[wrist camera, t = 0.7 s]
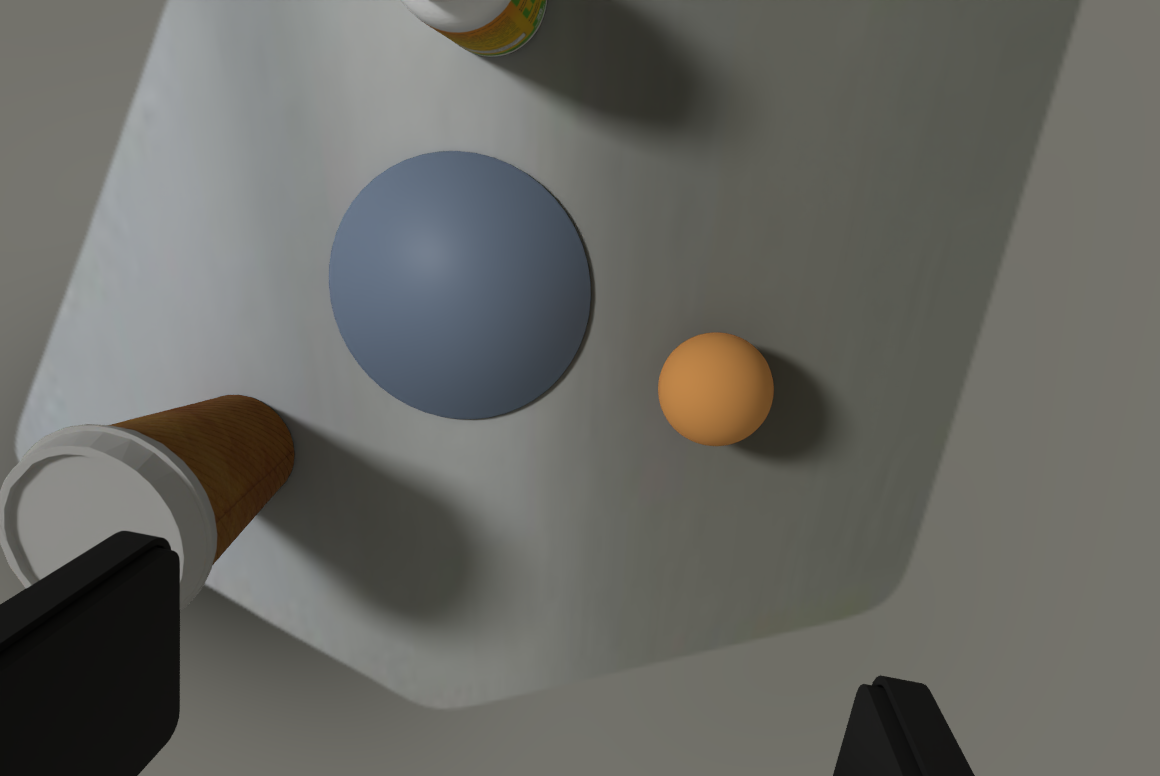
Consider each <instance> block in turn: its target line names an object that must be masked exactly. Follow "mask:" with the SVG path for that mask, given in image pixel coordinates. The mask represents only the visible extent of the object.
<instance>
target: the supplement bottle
mask: <svg viewBox="0 0 1160 776" xmlns="http://www.w3.org/2000/svg"><path fill="white" fill-rule="evenodd" d="M401 1H402V2H403V3H404V5H405V6H406V7H407V8H408V9H409V10H410V11H411V12H412V13H413V14H414V15H415V16H416V17H417V18H418V19H420V20H421V21H422V22H424V23H425V24H427V25H428V26H430V27H431V28H433V29H435V30H436V31H438V32H439V33H441V34H442V35H444V36H446V37H447V38H449V39H450V40H452V41H453V42H455V43H456V44H458V45H459V46H460V47H462V48H464V49H465V50H467V51H469V52H472V53H474V54H477V55H481V56H489V57H495V56H503V55H507V54H509V53H512V52H514V51H516V50H518V49H519V48H521V47H522V46H524V45H525V44H526V43H527V42H528V41H529V40H530V39H531V38H532V37H533V36H534V34H535V33H536V32H537V30H538V28H539V27H540V25H541V23H542V20H543V17H544V14H545V10H546V5H547V0H401Z"/></svg>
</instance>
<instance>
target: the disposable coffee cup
mask: <svg viewBox="0 0 1160 776" xmlns="http://www.w3.org/2000/svg"><path fill="white" fill-rule="evenodd" d="M294 455H295V454H294V447H293V441H292V438H291V434H290V432H289V430H288V428H287V426H286V425H285V423H284V422H283V420H282V419H281V418H280V417H279V415H278V414H277V413H276V412H274V411H273V410H272V409H271V408H270V407H268V406H267V405H265V404H264V403H262V402H260V401H259V400H256V399H254V398H252V397H247V396H242V395H226V396H221V397H218V398H214V399H210V400H206V401H202V402H198V403H195V404H190V405H187V406H183V407H179V408H174V409H171V410H166V411H163V412H159V413H155V414H151V415H147V416H143V417H139V418H135V419H131V420H127V421H124V422H119V423H116V424H112V425H92V424H86V425H78V426H71V427H67V428H63V429H61V430H58V431H56V432H54V433H51V434H49V435H47V436H45V437H43V438H42V439H41V440H39V441H38V442H37V443H35V444H34V445H33V446H32V447H31V448H30V449H29V450H28V452H27V453H26V454H25V455H24V456H23V458H22V460H21V461H20V462H19V463H18V464H17V465H16V466H15V467H14V468H13V469H12V470H11V472H10V473H9V475H8V476H7V478H6V479H5V481H4V483H3V485H2V488H1V490H0V544H1V546H2V549H3V551H4V554H5V556H6V558H7V561H8V563H9V566H10V567H11V569H12V570H13V572H14V573H15V574H16V576H17V577H18V578H19V580H20V581H21V583H22V584H23V585H24V587H25V588H28V587H30V586H31V585H33V584H34V583H36V582H38V581H39V580H41V579H42V578H44V577H46V576H47V575H49V574H50V573H52V572H54V571H55V570H57V569H59V568H60V567H62V566H63V565H65V564H67V563H68V562H70V561H71V560H73V559H75V558H76V557H78V556H79V555H81V554H83V553H84V552H86V551H88V550H89V549H91V548H92V547H94V546H96V545H97V544H99V543H100V542H102V541H104V540H105V539H107V538H108V537H110V536H112V535H113V534H115V533H117V532H120V531H131V532H136V533H141V534H147V535H152V536H157V537H162V538H165V539H166V540H167V541H168V542H169V544H170V546H171V550H173V551H175V552H177V554H178V556H179V560H180V610H181V609H183V608H184V607H186V606H187V605H188V604H189V603H190V602H191V601H192V600H193V599H194V597H195V596H196V595H197V594H198V593H199V592H200V590H201V589H202V588H203V585H204V583H205V581H206V579H207V577H208V575H209V573H210V571H211V568H212V565H213V564H214V563H215V562H216V561H217V559H218V558H219V557H220V556H221V555H222V554H223V553H224V551H225V550H226V549H227V548H228V547H229V546H230V545H231V543H232V542H233V541H234V540H235V539H236V538H237V537H238V535H239V534H240V533H241V532H242V531H243V530H244V528H245V527H246V526H247V525H248V524H249V523H250V522H251V521H252V519H253V518H254V517H255V516H256V515H257V514H258V512H259V511H260V510H261V509H262V508H263V507H264V505H265V504H266V503H267V502H268V501H269V500H270V498H272V496H273V495H274V494H275V493H276V492H277V491H278V490H279V488H280V487H281V486H282V485H283V484H284V483H285V482H286V481H287V479H288V477H289V475H290V473H291V471H292V468H293V465H294Z"/></svg>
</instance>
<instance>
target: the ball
mask: <svg viewBox="0 0 1160 776" xmlns="http://www.w3.org/2000/svg"><path fill="white" fill-rule="evenodd" d="M658 394H659V401H660V405H661V408H662V410H663V413H664V415H665V417H666V418H667V420H668V421H669V423H670V424H671V425H672V426H673V428H674V429H675V430H676V431H677V432H678V433H680V434H681V435H683V436H684V437H686V438H687V439H689V440H691V441H694V442H696V443H699V444H703V445H709V446H724V445H729V444H733V443H736V442H739V441H741V440H743V439H745V438H746V437H748V436H749V435H751V434H752V433H753V432H755V431H756V430H757V429H758V428H759V427H760V425H761V424H762V423H763V422H764V420H765V419H766V417H767V415H768V413H769V411H770V408H771V405H772V401H773V395H774V385H773V378H772V374H771V371H770V368H769V365H768V364H767V362H766V360H765V358H764V357H763V356H762V354H761V353H760V352H759V351H758V350H757V349H756V348H755V347H754V346H753V345H752V344H750V343H749V342H747V341H746V340H744V339H742V338H740V337H737V336H735V335H731V334H727V333H705V334H701V335H697V336H695V337H692V338H690V339H688V340H687V341H685V342H683V343H682V344H681V345H679V346H678V347H677V348H676V349H675V350H674V351H673V352H672V353H671V354H670V356H669V357H668V358H667V360H666V362H665V364H664V366H663V368H662V371H661V374H660V378H659V384H658Z"/></svg>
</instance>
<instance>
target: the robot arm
mask: <svg viewBox="0 0 1160 776" xmlns="http://www.w3.org/2000/svg"><path fill="white" fill-rule="evenodd" d="M179 674H180V560H179V556H178V554H177V552H175V551H173V550H171V546H170V544H169V542H168V541H167V540H166V539H165V538H162V537H157V536H152V535H147V534H141V533H136V532H131V531H120V532H117V533H115V534H113V535H112V536H110V537H108V538H107V539H105V540H104V541H102V542H100V543H99V544H97V545H96V546H94V547H92V548H91V549H89V550H88V551H86V552H84V553H83V554H81V555H79V556H78V557H76V558H75V559H73V560H71V561H70V562H68V563H67V564H65V565H63V566H62V567H60V568H59V569H57V570H55V571H54V572H52V573H50V574H49V575H47V576H46V577H44V578H42V579H41V580H39V581H38V582H36V583H34V584H33V585H31V586H30V587H28V588H26V589H25V590H23V591H21V592H20V593H18V594H17V595H15V596H14V597H12V598H10V599H9V600H7V601H5V602H4V603H2V604H1V605H0V776H137V775H138V774H139V773H140V772H141V771H142V770H143V769H144V768H145V766H147V764H148V763H149V762H150V761H151V760H152V759H153V758H154V757H155V756H156V755H157V753H158V752H159V751H160V750H161V749H162V748H163V747H164V746H165V745H166V743H167V742H168V741H169V739H170V738H171V736H172V734H173V733H174V731H175V728H176V726H177V722H178V719H179V711H180V710H179V709H180V692H179V691H180V675H179ZM833 776H975V775H974V774H973V772H972V770H971V768H970V766H969V764H968V762H967V760H966V759H965V756H964V755H963V753H962V751H961V749H960V747H959V745H958V743H957V741H956V739H955V738H954V736H953V734H952V732H951V730H950V728H949V726H948V724H947V722H946V720H945V719H944V716H943V715H942V713H941V711H940V709H939V707H938V705H937V703H936V701H935V699H934V697H933V695H932V694H931V692H930V690H929V689H928V687H927V686H926V685H924V684H922V683H916V682H912V681H906V680H901V679H896V678H891V677H885V676H878V677H877V678H876V679H875V680H874V681H873V684H872V685H866V684H862V685H860V687H859V688H858V691H857V693H856V697H855V700H854V704H853V707H852V711H851V714H850V718H849V721H848V725H847V728H846V732H845V735H844V739H843V742H842V746H841V750H840V753H839V756H838V760H837V763H836V767H835V770H834V774H833Z"/></svg>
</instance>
